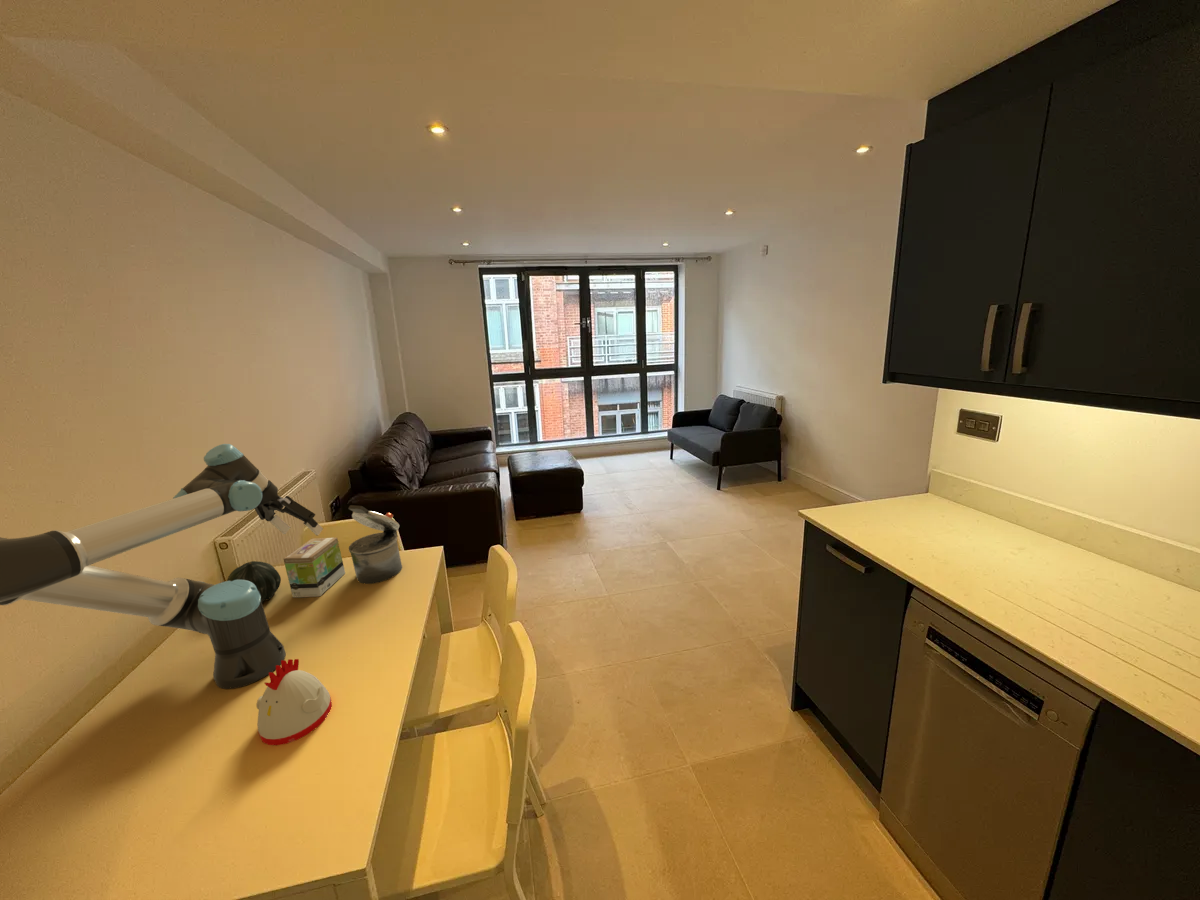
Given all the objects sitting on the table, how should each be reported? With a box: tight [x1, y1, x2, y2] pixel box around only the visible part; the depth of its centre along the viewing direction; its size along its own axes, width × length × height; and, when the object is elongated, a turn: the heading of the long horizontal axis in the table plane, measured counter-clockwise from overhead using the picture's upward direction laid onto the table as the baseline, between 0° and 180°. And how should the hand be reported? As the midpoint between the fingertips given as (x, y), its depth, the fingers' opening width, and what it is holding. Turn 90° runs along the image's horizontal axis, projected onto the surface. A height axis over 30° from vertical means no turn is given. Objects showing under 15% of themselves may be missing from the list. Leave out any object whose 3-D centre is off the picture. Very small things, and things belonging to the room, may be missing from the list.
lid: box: [348, 504, 400, 532], centre depth 163 cm, size 20×16×4 cm
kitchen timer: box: [256, 658, 333, 746], centre depth 102 cm, size 14×14×15 cm
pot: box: [348, 530, 403, 585], centre depth 165 cm, size 17×16×12 cm
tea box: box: [283, 537, 346, 598], centre depth 158 cm, size 15×10×15 cm, turn 179°
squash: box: [226, 560, 282, 603], centre depth 152 cm, size 14×15×15 cm
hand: (303, 531), depth 148 cm, fingers open, 13 cm apart
